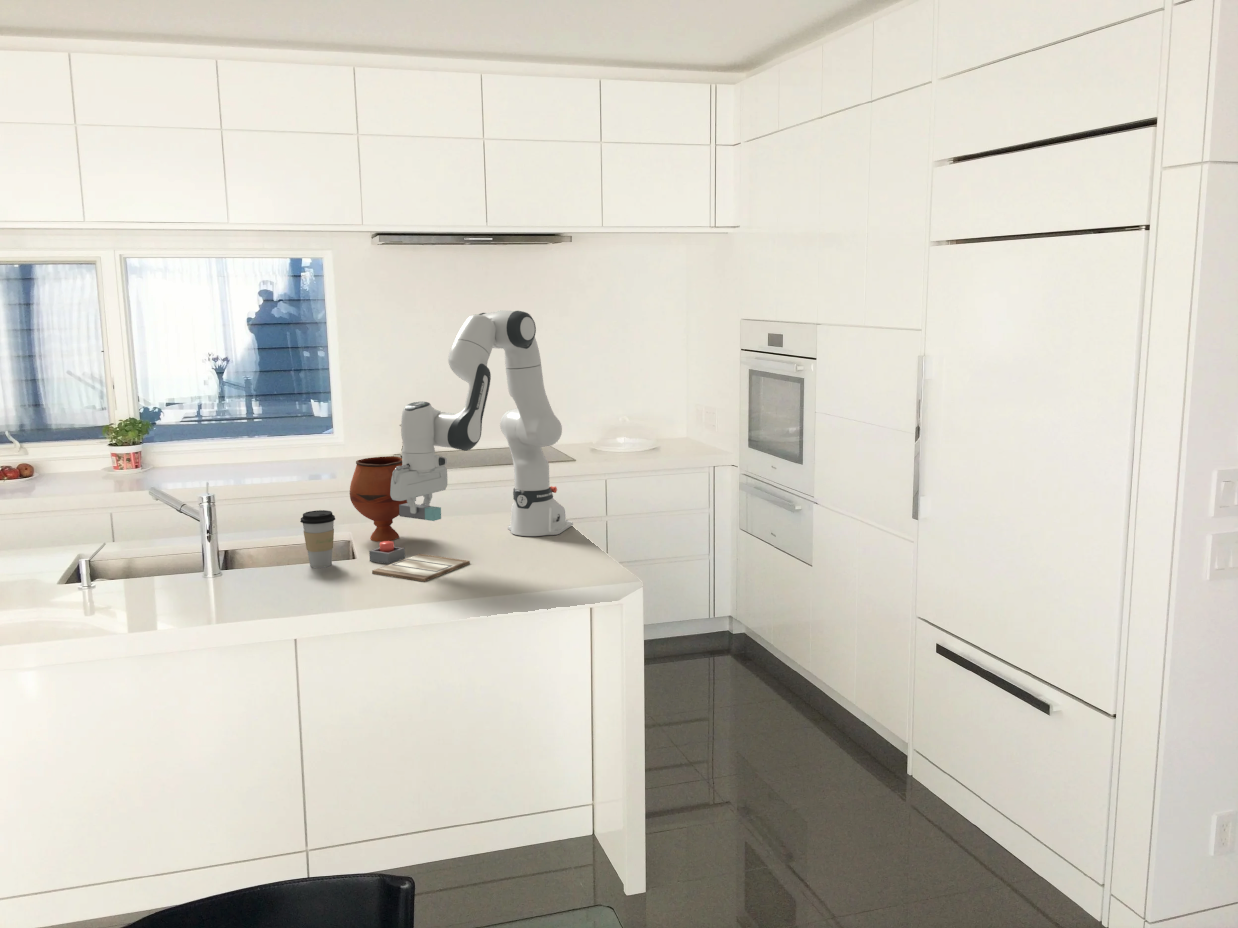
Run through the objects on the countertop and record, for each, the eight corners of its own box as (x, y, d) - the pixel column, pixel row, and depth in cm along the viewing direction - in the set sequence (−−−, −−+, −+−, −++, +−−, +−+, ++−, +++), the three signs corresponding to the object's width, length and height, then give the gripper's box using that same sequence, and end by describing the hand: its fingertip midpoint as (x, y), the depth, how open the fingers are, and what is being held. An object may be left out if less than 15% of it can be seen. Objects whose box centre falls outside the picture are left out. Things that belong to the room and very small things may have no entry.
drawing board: (419, 556, 292) (419, 553, 292) (469, 563, 284) (469, 560, 283) (372, 573, 275) (372, 570, 275) (424, 581, 266) (423, 578, 266)
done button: (386, 549, 291) (386, 540, 291) (397, 550, 289) (396, 541, 289) (376, 552, 288) (376, 543, 287) (387, 553, 286) (387, 545, 285)
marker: (399, 516, 279) (399, 505, 278) (407, 514, 282) (406, 503, 281) (433, 521, 273) (433, 509, 273) (441, 518, 276) (440, 507, 275)
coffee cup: (325, 570, 278) (321, 517, 275) (296, 568, 281) (292, 515, 278) (344, 562, 287) (341, 510, 284) (316, 559, 290) (313, 508, 287)
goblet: (341, 544, 307) (336, 464, 302) (370, 530, 325) (365, 453, 321) (399, 547, 302) (395, 465, 298) (425, 532, 321) (421, 455, 317)
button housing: (386, 555, 294) (385, 545, 293) (405, 558, 290) (404, 548, 290) (369, 561, 287) (369, 550, 287) (388, 563, 284) (388, 553, 284)
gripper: (402, 468, 264) (403, 519, 267) (450, 457, 282) (452, 506, 284) (383, 466, 267) (385, 517, 270) (433, 456, 285) (434, 504, 287)
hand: (420, 511), depth 277 cm, fingers closed on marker, 3 cm apart
